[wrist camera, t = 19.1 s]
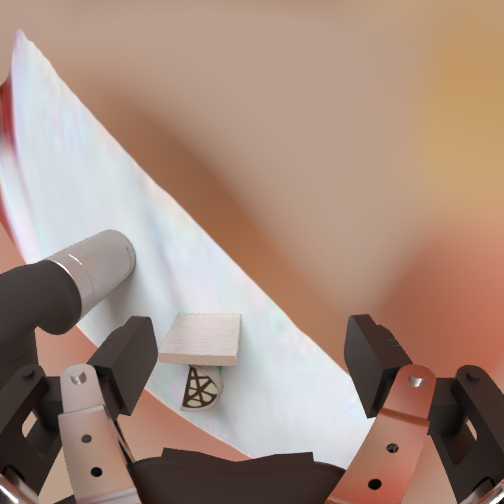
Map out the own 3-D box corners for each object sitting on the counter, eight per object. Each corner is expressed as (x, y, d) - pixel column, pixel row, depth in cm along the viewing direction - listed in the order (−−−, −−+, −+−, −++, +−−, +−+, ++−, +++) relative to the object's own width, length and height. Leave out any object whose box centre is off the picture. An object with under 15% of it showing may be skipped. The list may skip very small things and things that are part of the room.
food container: (220, 384, 52) (214, 420, 42) (190, 377, 52) (179, 411, 42) (234, 337, 49) (229, 373, 39) (201, 328, 48) (189, 362, 39)
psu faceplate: (179, 323, 48) (160, 363, 37) (178, 313, 48) (157, 352, 36) (241, 324, 48) (236, 367, 36) (240, 313, 47) (235, 355, 36)
